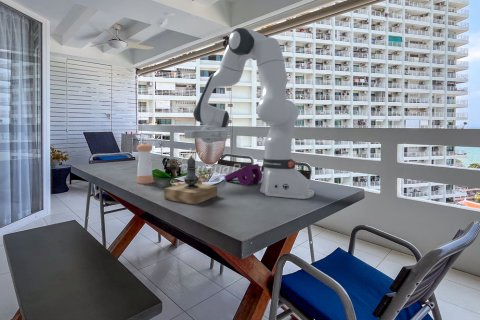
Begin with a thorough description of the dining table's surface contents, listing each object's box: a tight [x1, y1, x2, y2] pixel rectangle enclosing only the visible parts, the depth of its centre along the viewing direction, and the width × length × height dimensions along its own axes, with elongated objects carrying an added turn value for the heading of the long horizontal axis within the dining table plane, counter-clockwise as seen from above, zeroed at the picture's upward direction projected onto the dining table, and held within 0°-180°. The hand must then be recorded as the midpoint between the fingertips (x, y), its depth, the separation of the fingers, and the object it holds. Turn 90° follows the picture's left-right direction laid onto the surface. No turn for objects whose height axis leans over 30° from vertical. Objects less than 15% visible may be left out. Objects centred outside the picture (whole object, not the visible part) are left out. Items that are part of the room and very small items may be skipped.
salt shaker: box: [136, 142, 154, 185], centre depth 130 cm, size 7×7×19 cm
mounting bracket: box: [224, 163, 263, 187], centre depth 134 cm, size 9×8×18 cm
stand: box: [163, 182, 218, 205], centre depth 103 cm, size 14×14×4 cm
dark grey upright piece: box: [183, 155, 200, 189], centre depth 102 cm, size 6×6×12 cm
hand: (203, 134), depth 119 cm, fingers open, 8 cm apart
